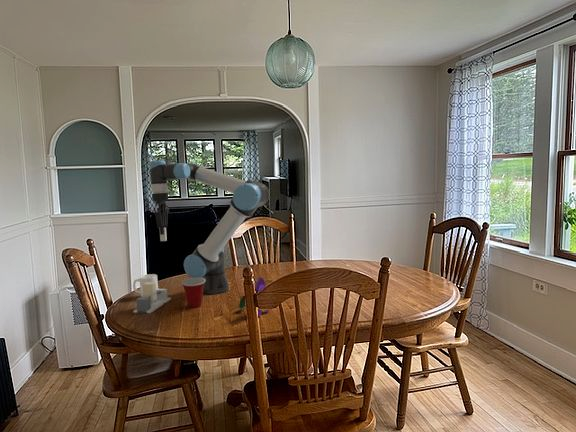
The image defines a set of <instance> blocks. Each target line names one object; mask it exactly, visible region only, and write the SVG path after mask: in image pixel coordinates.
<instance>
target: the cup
mask: <svg viewBox="0 0 576 432" xmlns="http://www.w3.org/2000/svg"><path fill="white" fill-rule="evenodd" d="M137 282H138V283H139V289H140V290H138V289H136V284H137ZM146 282H149V283H156V289H159V283H158V275H157V274H155V273H152V274H151V273H150V274H148V273H147V274H144V275H140V276H139V278H136V279H134V281H133V283H132V288H133V289H132V290H133V291H134V292H135V293H136V294H140V297H143V284H144V283H146Z"/></svg>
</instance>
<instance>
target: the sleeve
mask: <svg viewBox="0 0 576 432" xmlns="http://www.w3.org/2000/svg"><path fill="white" fill-rule="evenodd" d="M146 296H151V300H150V301H151V304H154V303H155V302H157V291H156V283H149V282H146V283H144V284H143V297H146Z"/></svg>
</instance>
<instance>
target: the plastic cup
mask: <svg viewBox="0 0 576 432" xmlns="http://www.w3.org/2000/svg"><path fill="white" fill-rule="evenodd" d="M205 281H206V280H205V279H204V278H202V277H193V278H192V277H188V278H185V279H182V280H181V282H180V283H181V285H182V288H183V290H184V293H185V298H186V301H187V306H188V307H189V308H191V309H192V308H193V309H195V308H199V307H202V303H203V297H204V293H203V289H204V283H205Z"/></svg>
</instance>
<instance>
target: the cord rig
mask: <svg viewBox="0 0 576 432" xmlns="http://www.w3.org/2000/svg"><path fill="white" fill-rule="evenodd" d="M156 291H157V302H155V303H154V304H151V301H150V300H151V296H146V297H141V296H140V297H138V298H136V299H135V300H136V308H135V309H134V310H133V313H134V314H135V313H136V314H137V313H139V314H140V313H141V314H151V313H153V312H155V310H157V309H159V308H160V307H162V306H163V305H164V303H165V304H166V303H168V302H169V301H171V299H172V298H171V297H169V296H168V288H158V289H156Z"/></svg>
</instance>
